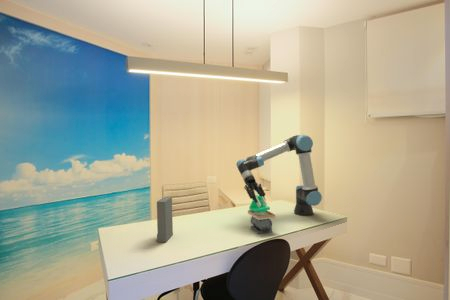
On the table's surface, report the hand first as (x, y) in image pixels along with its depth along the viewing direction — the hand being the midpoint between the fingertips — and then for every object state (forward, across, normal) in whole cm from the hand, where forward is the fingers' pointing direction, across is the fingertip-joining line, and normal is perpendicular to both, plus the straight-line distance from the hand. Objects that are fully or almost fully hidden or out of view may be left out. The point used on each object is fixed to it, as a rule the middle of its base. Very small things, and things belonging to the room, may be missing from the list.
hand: (262, 205), depth 183 cm
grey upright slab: (-3, +60, -28) cm, 67 cm away
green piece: (+1, 0, -6) cm, 6 cm away
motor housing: (+11, 0, -14) cm, 17 cm away
